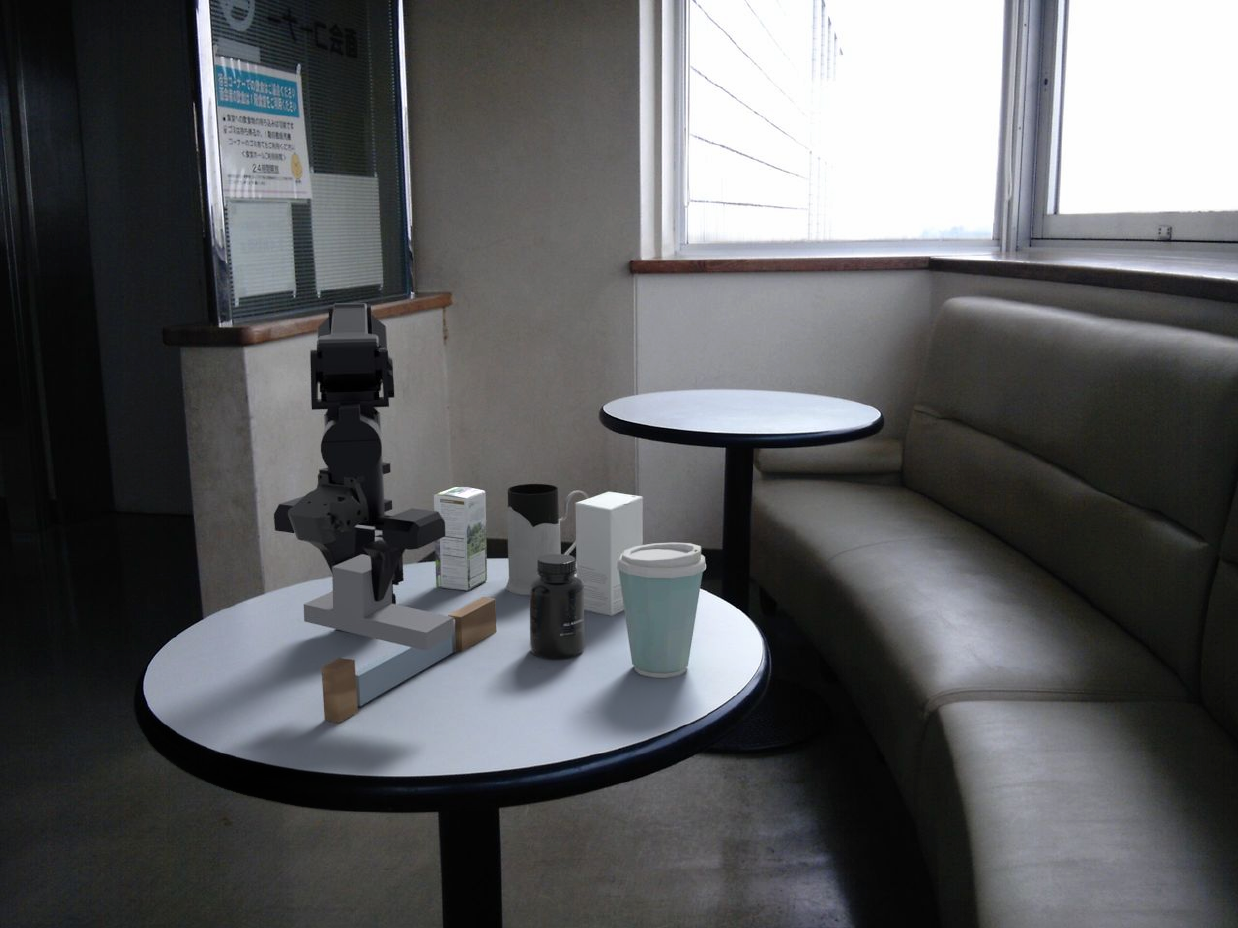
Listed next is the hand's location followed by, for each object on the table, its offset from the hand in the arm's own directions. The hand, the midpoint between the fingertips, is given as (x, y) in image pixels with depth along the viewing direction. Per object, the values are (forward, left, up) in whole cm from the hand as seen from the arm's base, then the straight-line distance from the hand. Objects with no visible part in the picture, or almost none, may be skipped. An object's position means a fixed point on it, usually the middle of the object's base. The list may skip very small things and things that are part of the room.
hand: (362, 597), depth 117 cm
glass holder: (-4, +48, -13) cm, 50 cm away
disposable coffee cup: (+25, +23, -13) cm, 37 cm away
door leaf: (-1, +17, -12) cm, 21 cm away
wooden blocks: (-1, +17, -12) cm, 21 cm away
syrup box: (-16, +42, -13) cm, 47 cm away
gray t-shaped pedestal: (0, 0, -3) cm, 3 cm away
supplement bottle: (+11, +23, -13) cm, 29 cm away
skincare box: (+9, +42, -13) cm, 45 cm away
